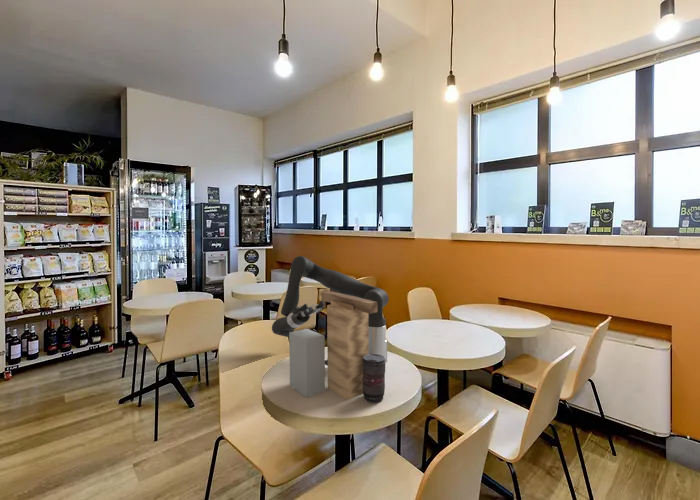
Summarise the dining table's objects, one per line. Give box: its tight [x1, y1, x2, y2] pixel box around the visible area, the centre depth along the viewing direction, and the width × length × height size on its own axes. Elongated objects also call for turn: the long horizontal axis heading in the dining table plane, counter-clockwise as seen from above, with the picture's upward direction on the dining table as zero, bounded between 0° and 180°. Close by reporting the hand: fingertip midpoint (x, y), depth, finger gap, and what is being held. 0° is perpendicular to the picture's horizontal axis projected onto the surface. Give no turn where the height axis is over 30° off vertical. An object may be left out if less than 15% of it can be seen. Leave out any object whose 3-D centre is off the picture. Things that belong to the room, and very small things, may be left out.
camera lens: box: [362, 354, 386, 404], centre depth 122 cm, size 8×8×15 cm
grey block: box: [288, 328, 326, 398], centre depth 130 cm, size 8×12×21 cm, turn 40°
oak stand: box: [326, 300, 369, 401], centre depth 128 cm, size 10×12×34 cm
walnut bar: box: [318, 287, 377, 314], centre depth 128 cm, size 4×30×4 cm, turn 40°
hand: (315, 304), depth 144 cm, fingers open, 8 cm apart
